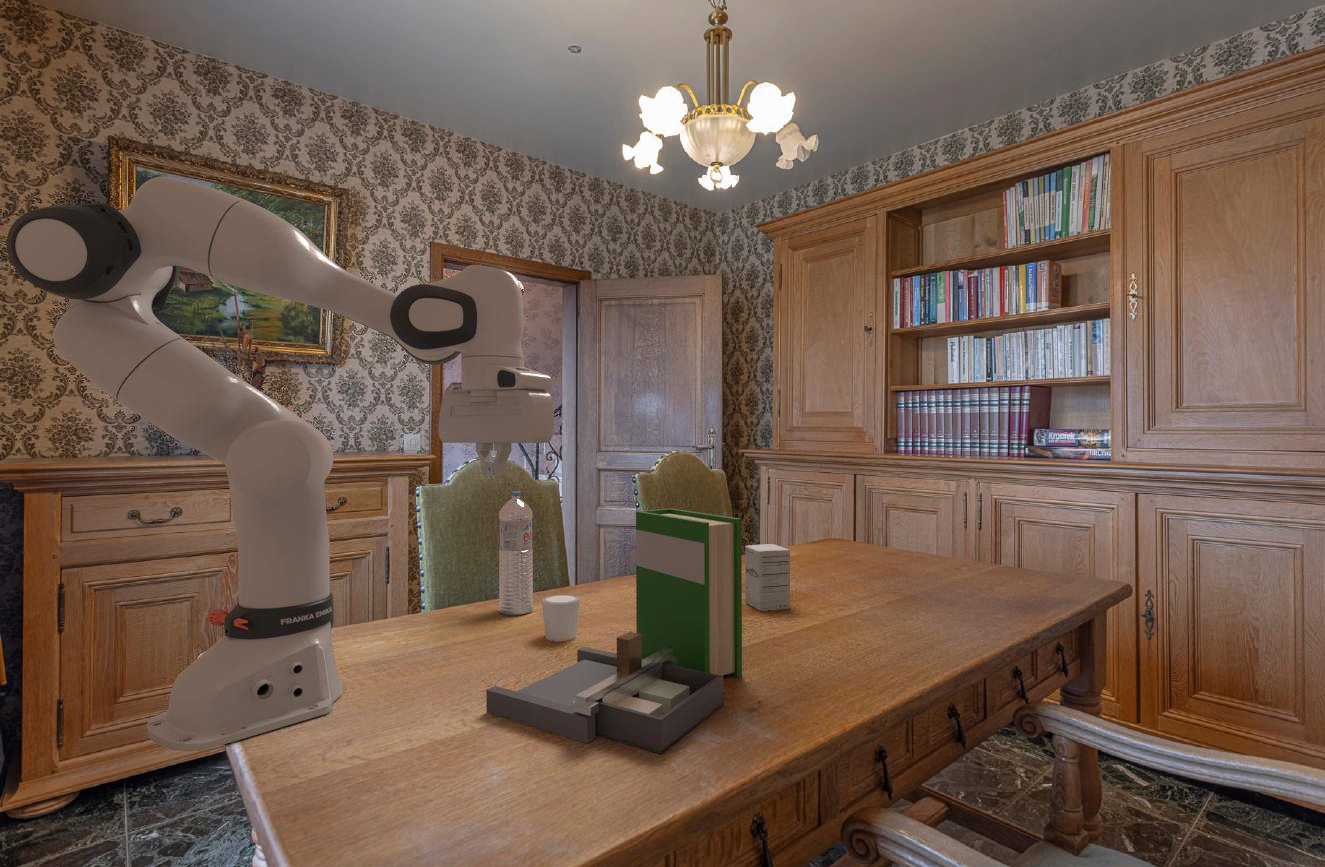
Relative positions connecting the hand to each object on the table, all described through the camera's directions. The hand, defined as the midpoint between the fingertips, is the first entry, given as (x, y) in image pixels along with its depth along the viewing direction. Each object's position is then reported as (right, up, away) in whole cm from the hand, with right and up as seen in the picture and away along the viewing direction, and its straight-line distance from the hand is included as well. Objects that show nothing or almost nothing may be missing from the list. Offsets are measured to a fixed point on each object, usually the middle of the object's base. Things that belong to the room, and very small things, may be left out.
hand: (493, 474), depth 96 cm
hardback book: (+28, -31, +10) cm, 43 cm away
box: (+23, -31, -10) cm, 40 cm away
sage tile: (+25, -31, -6) cm, 40 cm away
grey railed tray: (+13, -31, -3) cm, 34 cm away
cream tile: (+21, -31, -12) cm, 39 cm away
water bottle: (-6, -31, +41) cm, 52 cm away
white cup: (+6, -31, +25) cm, 40 cm away
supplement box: (+47, -31, +45) cm, 72 cm away
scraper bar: (+20, -29, -8) cm, 36 cm away
